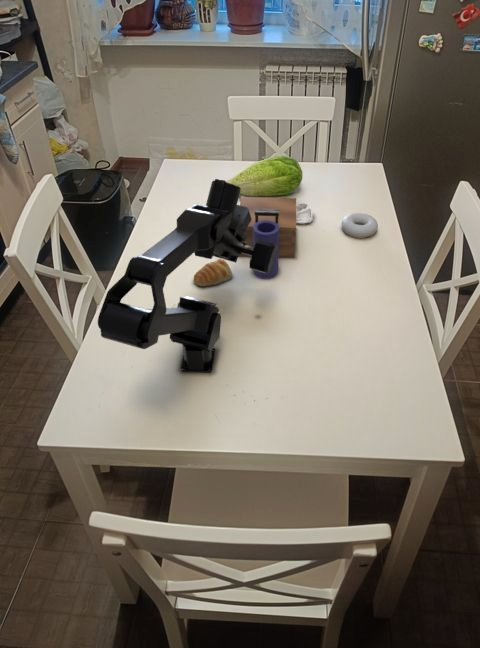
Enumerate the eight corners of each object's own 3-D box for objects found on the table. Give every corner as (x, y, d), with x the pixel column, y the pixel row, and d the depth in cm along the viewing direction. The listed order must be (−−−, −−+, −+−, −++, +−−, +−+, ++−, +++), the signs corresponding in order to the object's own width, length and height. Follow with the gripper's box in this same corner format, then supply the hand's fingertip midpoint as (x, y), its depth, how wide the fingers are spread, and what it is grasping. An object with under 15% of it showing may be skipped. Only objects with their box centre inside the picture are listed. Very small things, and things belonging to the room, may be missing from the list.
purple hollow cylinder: (281, 276, 127) (283, 231, 119) (258, 281, 126) (258, 236, 117) (272, 262, 132) (273, 218, 123) (250, 267, 130) (249, 223, 121)
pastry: (203, 292, 122) (202, 280, 120) (188, 279, 126) (186, 267, 124) (234, 278, 127) (234, 265, 124) (219, 265, 130) (218, 253, 128)
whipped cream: (313, 229, 145) (316, 214, 141) (290, 227, 145) (292, 212, 141) (311, 212, 150) (314, 198, 147) (289, 210, 150) (291, 196, 146)
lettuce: (217, 170, 158) (222, 162, 146) (290, 155, 163) (302, 146, 151) (225, 208, 160) (232, 203, 148) (298, 193, 165) (310, 187, 152)
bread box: (294, 258, 133) (296, 228, 127) (237, 256, 133) (237, 227, 127) (294, 229, 143) (296, 201, 137) (242, 227, 144) (241, 199, 138)
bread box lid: (296, 230, 126) (297, 215, 123) (236, 228, 127) (236, 213, 124) (296, 200, 137) (296, 186, 134) (241, 199, 138) (240, 184, 135)
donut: (348, 218, 148) (335, 234, 141) (349, 207, 146) (337, 223, 139) (381, 226, 145) (370, 243, 138) (383, 216, 142) (371, 232, 136)
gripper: (274, 211, 97) (293, 232, 112) (190, 190, 103) (219, 213, 118) (257, 266, 97) (278, 280, 112) (174, 243, 103) (204, 258, 118)
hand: (244, 256), depth 115 cm, fingers open, 9 cm apart
